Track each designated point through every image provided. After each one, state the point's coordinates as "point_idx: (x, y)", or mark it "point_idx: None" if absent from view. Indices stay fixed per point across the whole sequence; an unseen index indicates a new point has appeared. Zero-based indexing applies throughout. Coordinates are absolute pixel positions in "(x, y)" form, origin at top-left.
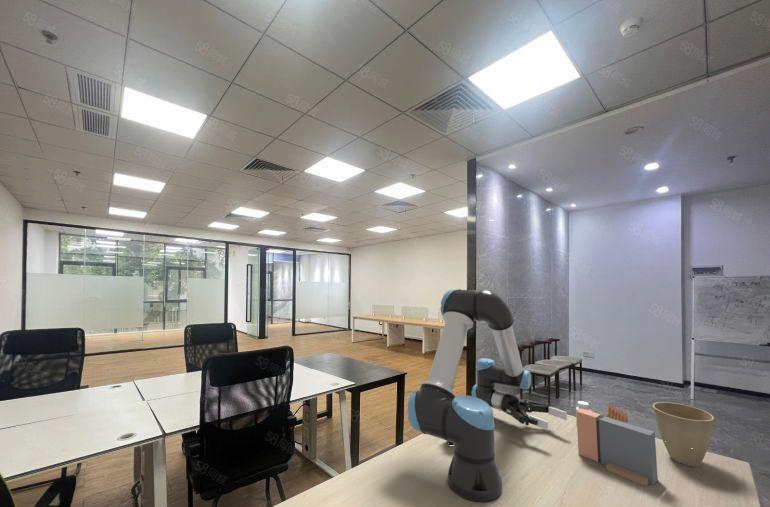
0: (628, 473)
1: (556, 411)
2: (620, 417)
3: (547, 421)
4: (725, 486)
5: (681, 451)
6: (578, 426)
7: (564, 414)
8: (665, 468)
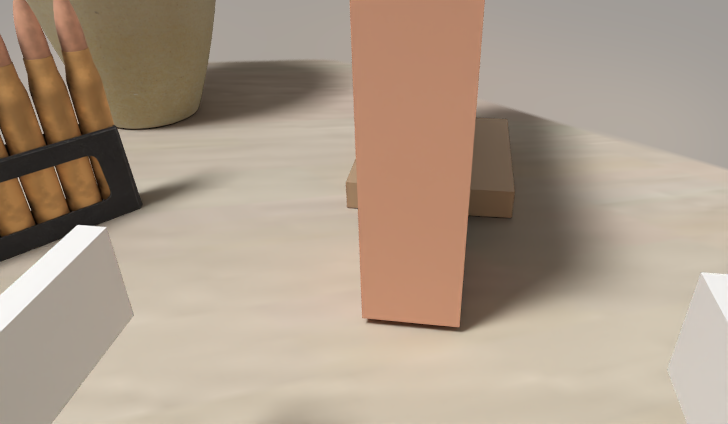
0: (500, 145)
1: (16, 356)
2: (37, 51)
3: (709, 276)
4: (288, 73)
5: (207, 53)
6: (474, 110)
7: (104, 268)
8: (274, 129)
